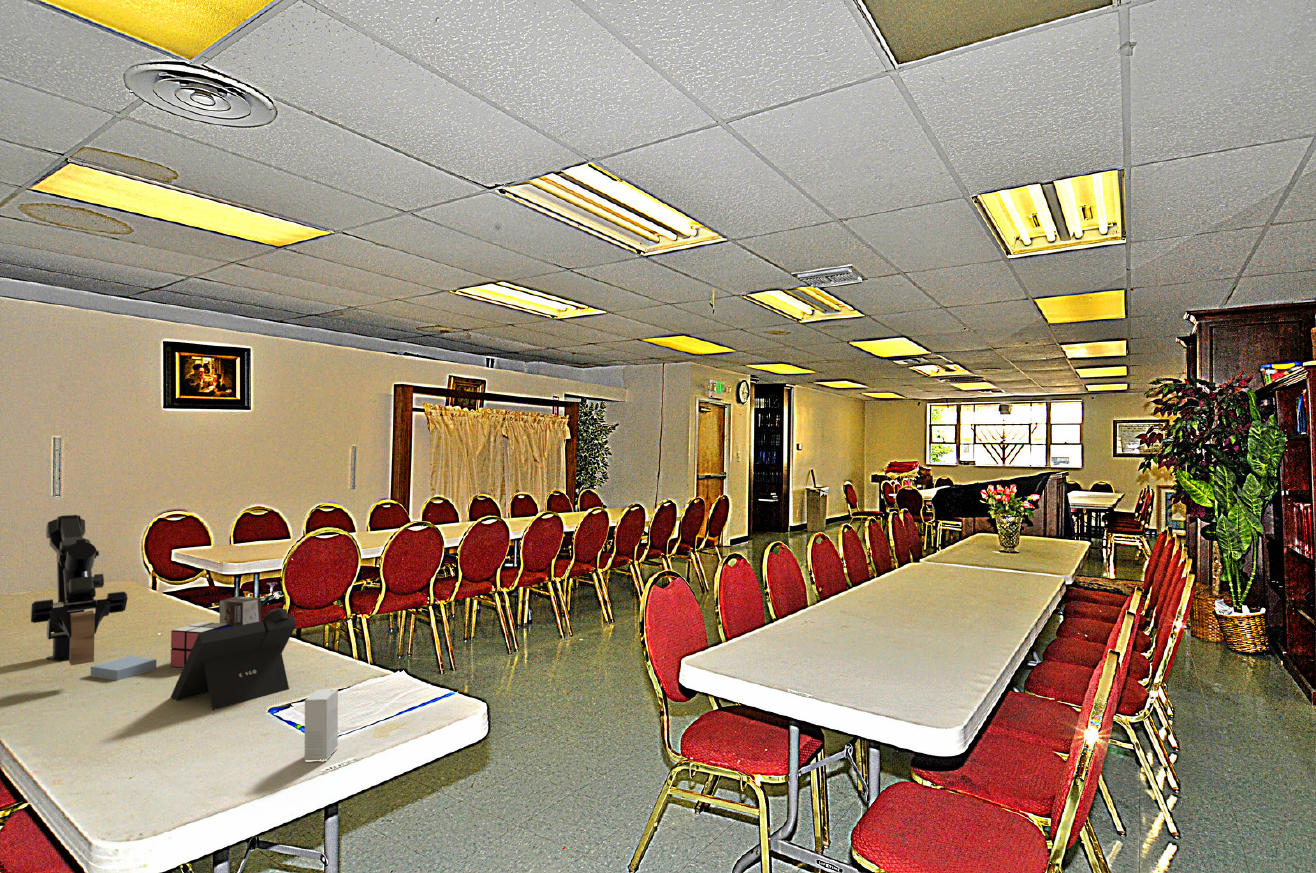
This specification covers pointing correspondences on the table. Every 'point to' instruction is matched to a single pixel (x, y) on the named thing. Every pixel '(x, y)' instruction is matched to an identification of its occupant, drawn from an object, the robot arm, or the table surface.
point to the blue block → (123, 668)
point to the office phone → (238, 662)
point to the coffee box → (240, 610)
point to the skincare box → (321, 724)
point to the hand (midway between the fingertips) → (82, 634)
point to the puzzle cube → (189, 640)
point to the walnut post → (82, 637)
